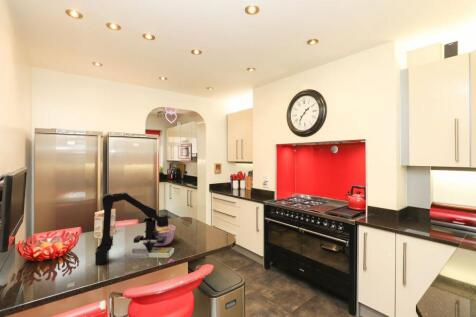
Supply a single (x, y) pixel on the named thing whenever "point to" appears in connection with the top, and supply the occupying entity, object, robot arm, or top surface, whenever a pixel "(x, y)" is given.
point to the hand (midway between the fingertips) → (150, 253)
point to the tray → (162, 255)
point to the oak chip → (157, 250)
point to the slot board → (138, 253)
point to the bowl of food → (165, 234)
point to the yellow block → (164, 250)
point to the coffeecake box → (99, 223)
